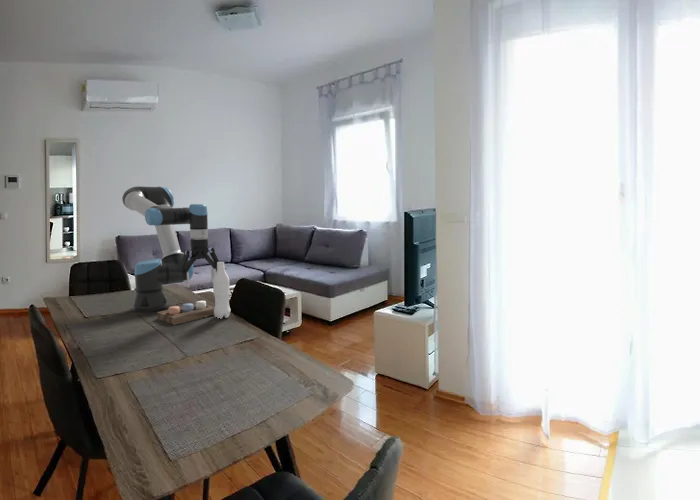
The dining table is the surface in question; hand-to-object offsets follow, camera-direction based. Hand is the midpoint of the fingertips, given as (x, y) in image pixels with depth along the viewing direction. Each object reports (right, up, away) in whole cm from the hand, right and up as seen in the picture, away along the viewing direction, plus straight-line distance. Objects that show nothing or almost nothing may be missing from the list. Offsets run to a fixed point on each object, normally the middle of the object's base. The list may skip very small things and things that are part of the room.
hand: (200, 284), depth 189 cm
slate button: (-4, -13, -4) cm, 14 cm away
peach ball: (-8, -13, -9) cm, 18 cm away
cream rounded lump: (0, -12, +2) cm, 12 cm away
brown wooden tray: (-4, -14, -3) cm, 15 cm away
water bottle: (+11, -15, -4) cm, 19 cm away
